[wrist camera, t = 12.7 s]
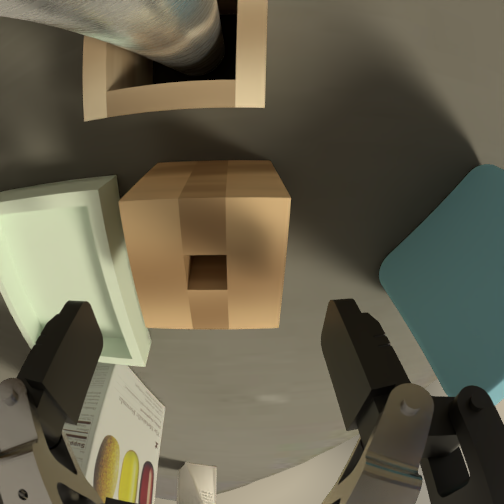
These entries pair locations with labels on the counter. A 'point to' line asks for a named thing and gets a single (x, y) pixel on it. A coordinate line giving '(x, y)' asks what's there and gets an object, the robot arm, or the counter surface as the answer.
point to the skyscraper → (196, 484)
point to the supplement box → (118, 435)
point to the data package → (456, 284)
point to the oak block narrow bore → (208, 244)
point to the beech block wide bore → (176, 93)
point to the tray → (71, 262)
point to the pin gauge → (138, 27)
